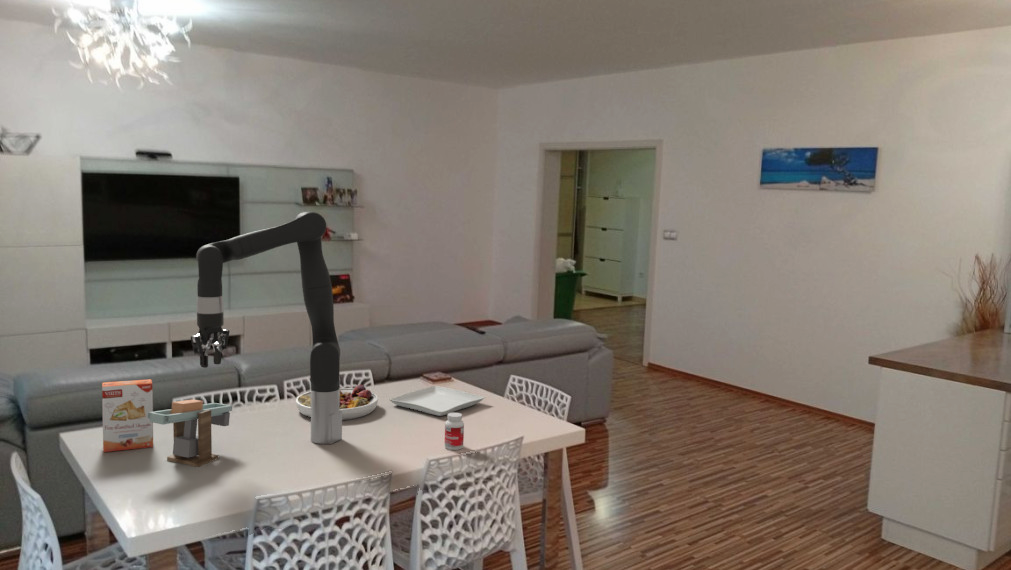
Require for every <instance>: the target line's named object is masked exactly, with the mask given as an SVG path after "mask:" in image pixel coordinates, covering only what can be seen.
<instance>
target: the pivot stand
mask: <svg viewBox="0 0 1011 570" xmlns="http://www.w3.org/2000/svg"><path fill="white" fill-rule="evenodd" d="M172 424H173V425H172V426H173V439H174V438H175V437H180V436H184V427H185V421H182V422H176V423H172ZM197 432H198V433H197V436H198V456H193V457H189V458H187V457H182V456H178V455H173V454H171V455H169V456H167V457H166V459H167V461H168V460H169V462H175V463H177V464H178V463H179V464H184V465H187V466H191V467H192V466H193V467H198V468H199V467H201V466H203V465H206V464H208V463H210V462H211V463H212V462H213V461H216V460H218V459H219V455H218V454H213V452H212V451H213V447H212V439H213V438H212V424H211V410H205V411H202V412H199V413H198V419H197ZM215 459H216V460H215Z"/></svg>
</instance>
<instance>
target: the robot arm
mask: <svg viewBox="0 0 1011 570" xmlns="http://www.w3.org/2000/svg"><path fill="white" fill-rule="evenodd" d="M326 230H327V222H326V220H325V218H324V217H323V216H322V215H321V214H320V213H319V212H315V211H302V212H300V213H299V214H297V216H296V217H295V219H293V220H291V221H289V222H288V221H287V222H286V223H283V224H281V225H276V226H274V227H273V226H272V227H269V228H265V229H264V228H263V229H259V230H255V231H250V232H248V233H244V234H240V235H237V236H234V237H232V238H229V239H226V240H220V241H216V242H211V243H208V244H205V245H202V246H201V247H199V248H198V250H197V252H196V254H195V256H196V257H195V258H196V260H197V263H198V264H197V265H198V279H197V299H196V326H197V327H198V333H197V334H196V335H191V336H190V342H191V346H192V350H193V354H194V355H199V365H200V367H201V368H204V369H206V368H208V367H209V355H208V354H209V349H211V346H212V348H213V364H214V365H221V363H222V352H223V351H224V350H226V349H228V348H227V347H228V342H229V337H230V330H229V329H223V326H224V320H225V319H224V298H223V280H222V279H223V278H222V277H223V271H224V270H223V269H224V267H223V266H224V263H229V262H230V261H239V260H242V259H246V258H249V257H253V256H255V255H259V254H261V253H264V252H268V251H270V250H273V249H277V248H278V247H282V246H286V245H290V244H294V243H296V245H297V249H298V253H299V261H300V276H301V287H302V295H303V302H304V305H305V309H306V313H307V316H308V319H309V321H310V322H309V323H310V325H311V332H312V333H311V334H312V337H311V338H312V349H311V352H310V355H309V356H310V357H309V371H310V372H309V375H310V376H309V377H310V378H309V379H310V380H309V381H310V391H311V418H310V441H311V443H314V444H319V445H321V444H324V445H326V444H327V445H333V444H334V443H336V442H338V441H340V440H342V439H343V420H342V411H340V388H341V385H340V384H341V381H340V379H341V378H340V360H341V359H340V358H341V348H340V345H339V341H338V337H337V332H336V327H335V317H334V315H335V311H334V307H335V306H334V296H333V295H334V294H333V286H332V280H331V276H330V273H329V269H328V265H327V264H326V260H325V258H324V254H323V247H322V246H323V245H322V237H323V236H324V234H325V233H326Z"/></svg>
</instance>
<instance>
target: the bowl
mask: <svg viewBox="0 0 1011 570" xmlns="http://www.w3.org/2000/svg"><path fill="white" fill-rule="evenodd" d="M378 402H379V397H378V395H377V394H376V393H374V392H372V391H371V390H370V389H367V388H366V386H364V385H363V384H357V385H356V386H355V387H354V388H349V387H348V388H346V387H340V411H342V421H347V420H353V419H358V418H361V417H364V416H366V415H369V414H370V413H372V412H373V411H374V410H375V409H376V408H377V405H378V404H379V403H378ZM295 404H296V405H295V406H296V408H297V410H298V412H299V413H301V414H302V415H303V416H305V417H307V416H308V418H310V417H311V390H310V391H307V392H304V393H302V394H299V396H297V397H296V398H295Z"/></svg>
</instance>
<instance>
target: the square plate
mask: <svg viewBox="0 0 1011 570" xmlns="http://www.w3.org/2000/svg"><path fill="white" fill-rule="evenodd" d="M484 399H486V397H485V396H482V395H479V394H474V393H472V392H467V391H465V390H464V391H463V390H460V389H459V390H458V389H456V388H449V387H444V386H439V385H431V386H428V387H425V388H420V389H417V390H413V391H410V392H406V393H403V394H400V395H397V396H395V397H392V398H389V401H390V402H391V403H392V404H394V405H396V406H399V407H402V408H406V409H409V408H410V410H413V409H414V411H417V410H418V411H417V412H421V411H422V413H426V414H430V415H433V416H434V415H435V416H436V417H437V416H439V417H443V416H445V415H446V416H447V415H448V414H449V413H456V412H458V411H460V410H463V409H465V408H469V407H471V406H474V405H477V404H479V403H481V402H482V401H483V400H484Z"/></svg>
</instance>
